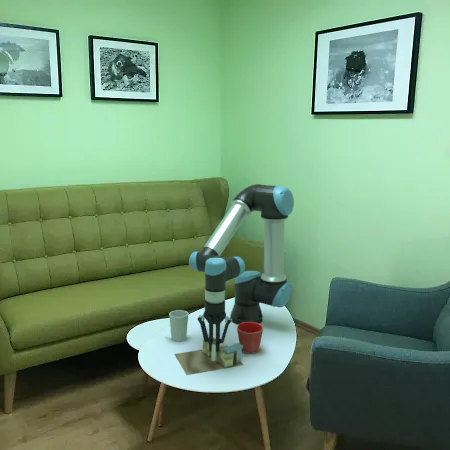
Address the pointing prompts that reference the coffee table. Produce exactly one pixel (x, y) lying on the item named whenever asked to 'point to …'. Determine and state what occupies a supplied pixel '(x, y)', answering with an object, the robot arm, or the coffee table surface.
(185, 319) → the cup
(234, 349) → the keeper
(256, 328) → the flower pot
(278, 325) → the coffee table surface
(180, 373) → the coffee table surface
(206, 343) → the link
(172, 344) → the coffee table surface
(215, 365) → the board
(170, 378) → the coffee table surface
